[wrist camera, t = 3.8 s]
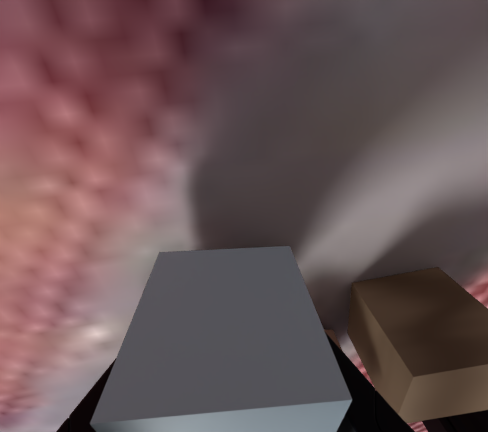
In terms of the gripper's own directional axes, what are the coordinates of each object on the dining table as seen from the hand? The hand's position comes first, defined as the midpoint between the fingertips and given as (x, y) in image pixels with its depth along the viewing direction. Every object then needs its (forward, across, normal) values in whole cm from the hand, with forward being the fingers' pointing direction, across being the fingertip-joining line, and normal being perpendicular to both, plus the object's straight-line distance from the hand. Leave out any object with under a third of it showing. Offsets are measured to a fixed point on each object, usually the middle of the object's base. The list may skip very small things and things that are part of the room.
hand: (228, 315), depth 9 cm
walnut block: (+3, -10, +4) cm, 11 cm away
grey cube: (+1, 0, 0) cm, 1 cm away
